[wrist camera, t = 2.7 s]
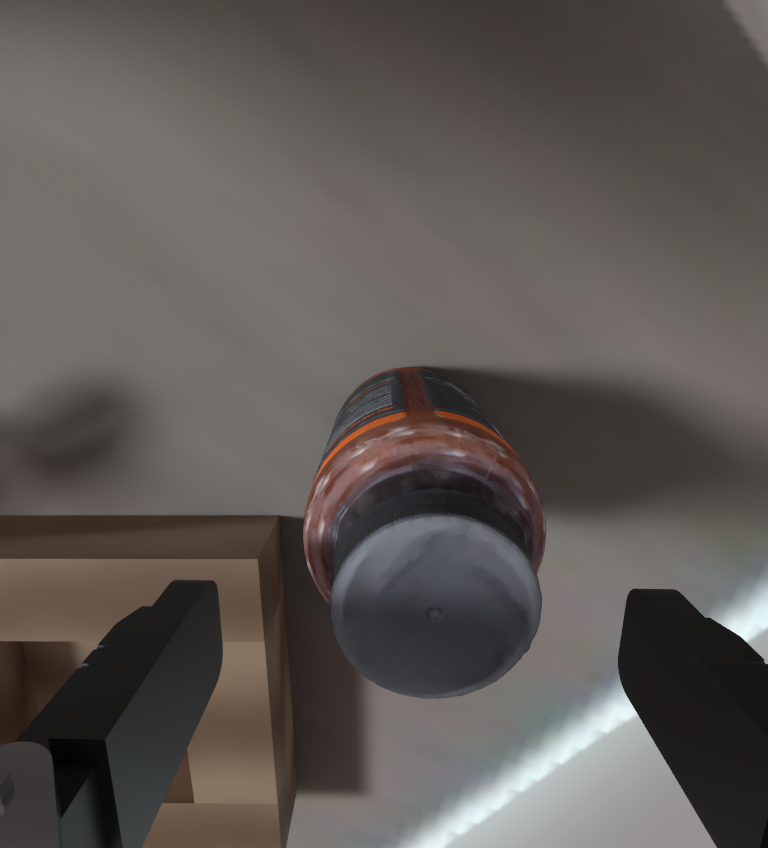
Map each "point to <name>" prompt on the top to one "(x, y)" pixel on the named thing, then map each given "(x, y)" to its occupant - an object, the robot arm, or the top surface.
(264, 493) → the top surface
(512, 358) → the top surface
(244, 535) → the brown wooden square frame
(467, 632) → the supplement bottle
